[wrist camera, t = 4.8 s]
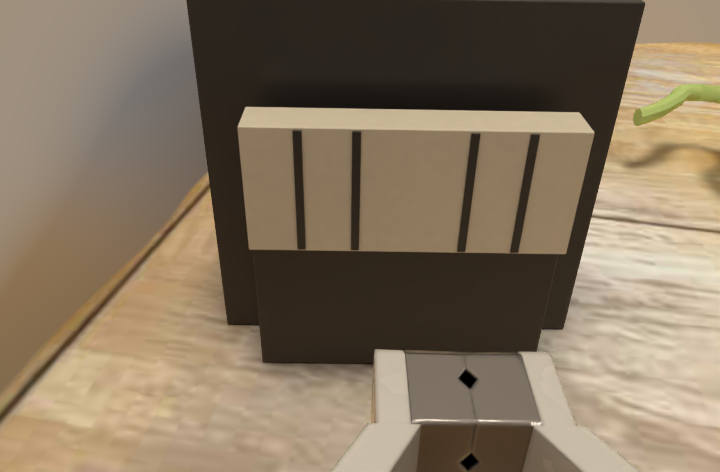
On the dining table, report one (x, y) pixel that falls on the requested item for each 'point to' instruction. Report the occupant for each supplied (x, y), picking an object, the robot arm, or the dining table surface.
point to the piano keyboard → (412, 179)
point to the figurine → (677, 101)
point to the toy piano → (412, 92)
